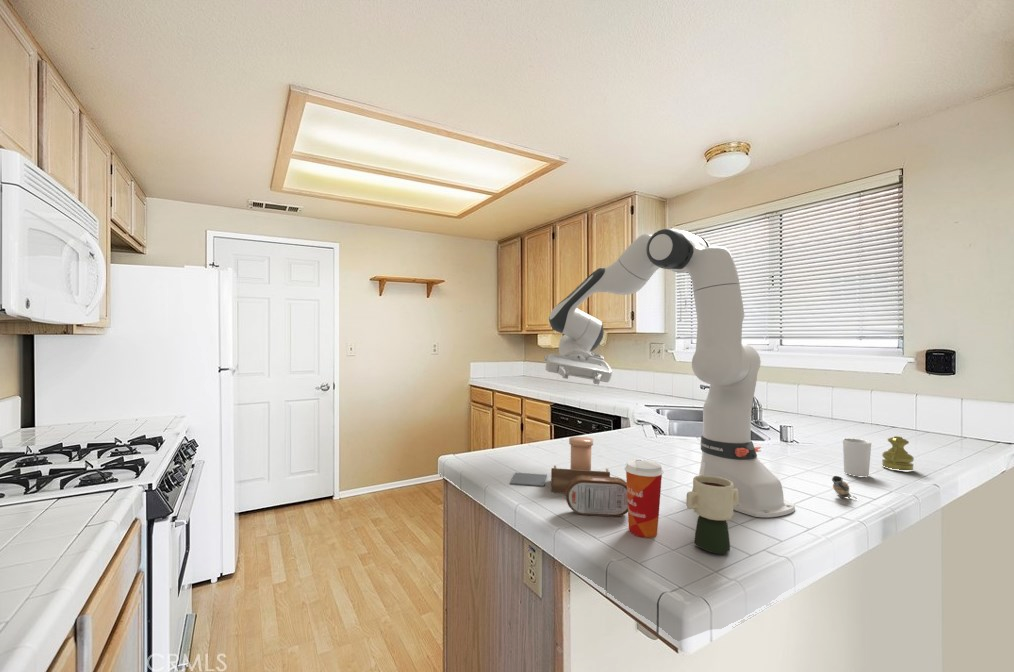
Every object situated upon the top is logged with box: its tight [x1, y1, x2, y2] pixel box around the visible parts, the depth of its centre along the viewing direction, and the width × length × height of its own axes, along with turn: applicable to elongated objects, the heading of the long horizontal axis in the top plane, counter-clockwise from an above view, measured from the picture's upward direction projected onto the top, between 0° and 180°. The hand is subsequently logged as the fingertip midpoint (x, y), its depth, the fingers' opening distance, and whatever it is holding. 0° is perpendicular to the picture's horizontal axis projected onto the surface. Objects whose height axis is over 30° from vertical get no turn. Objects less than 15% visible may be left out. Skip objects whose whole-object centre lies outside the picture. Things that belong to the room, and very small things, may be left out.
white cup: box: [842, 437, 872, 476], centre depth 134 cm, size 7×7×10 cm
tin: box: [564, 475, 628, 518], centre depth 102 cm, size 15×3×8 cm, turn 84°
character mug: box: [686, 475, 738, 554], centre depth 86 cm, size 11×7×13 cm, turn 102°
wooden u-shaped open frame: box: [550, 465, 611, 494], centre depth 119 cm, size 10×15×6 cm
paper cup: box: [624, 459, 664, 539], centre depth 93 cm, size 8×8×14 cm
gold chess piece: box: [881, 435, 915, 471], centre depth 139 cm, size 7×7×10 cm
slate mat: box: [509, 472, 548, 488], centre depth 125 cm, size 9×9×1 cm
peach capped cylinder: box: [568, 436, 594, 471], centre depth 123 cm, size 6×6×12 cm
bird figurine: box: [828, 475, 858, 500], centre depth 114 cm, size 5×5×6 cm
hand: (581, 379), depth 133 cm, fingers open, 8 cm apart
